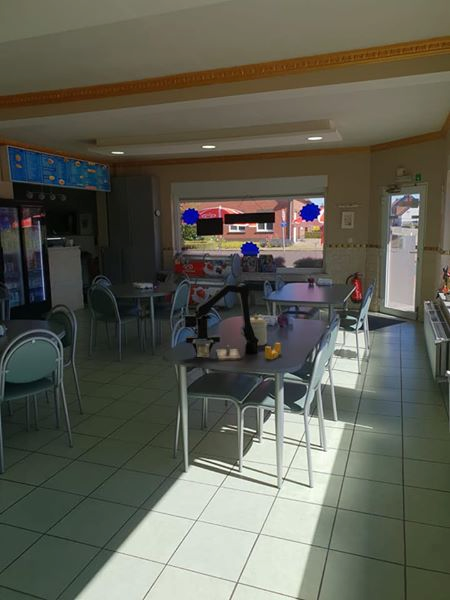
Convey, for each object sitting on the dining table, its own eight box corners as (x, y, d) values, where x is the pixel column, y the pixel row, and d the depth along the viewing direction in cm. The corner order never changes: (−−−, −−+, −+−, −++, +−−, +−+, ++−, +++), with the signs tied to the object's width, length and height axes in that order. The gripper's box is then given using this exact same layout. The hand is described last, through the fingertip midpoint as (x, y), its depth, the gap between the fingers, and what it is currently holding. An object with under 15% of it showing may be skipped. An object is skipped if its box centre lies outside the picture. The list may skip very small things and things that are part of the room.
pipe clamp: (271, 359, 253) (272, 348, 252) (265, 358, 255) (265, 347, 254) (283, 354, 262) (283, 343, 261) (276, 353, 265) (276, 342, 264)
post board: (236, 350, 270) (236, 341, 269) (240, 359, 252) (240, 349, 251) (216, 351, 269) (216, 342, 268) (218, 360, 251) (218, 350, 250)
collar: (208, 354, 263) (208, 343, 262) (209, 357, 257) (208, 346, 256) (197, 354, 263) (196, 344, 262) (197, 357, 257) (197, 347, 256)
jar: (242, 344, 283) (242, 316, 280) (249, 339, 295) (249, 312, 292) (263, 346, 279) (263, 317, 276) (269, 341, 291) (269, 313, 288)
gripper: (218, 323, 266) (218, 349, 269) (185, 324, 264) (185, 350, 267) (219, 327, 255) (220, 355, 258) (185, 328, 253) (186, 356, 256)
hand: (202, 354), depth 260 cm, fingers closed on collar, 6 cm apart
